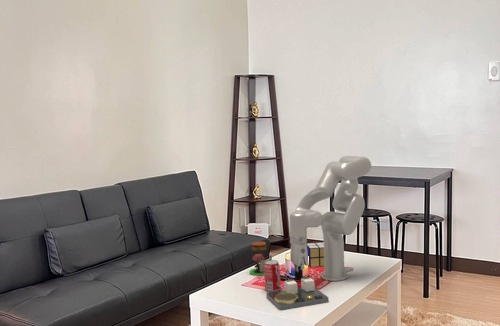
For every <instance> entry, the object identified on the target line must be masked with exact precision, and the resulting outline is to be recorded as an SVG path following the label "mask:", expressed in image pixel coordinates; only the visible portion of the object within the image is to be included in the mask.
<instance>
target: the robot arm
mask: <svg viewBox="0 0 500 326" xmlns="http://www.w3.org/2000/svg"><path fill="white" fill-rule="evenodd" d="M371 169H372V162H371V161H370V159H369V158H368V157H366V156H356V155H344V156H342V157H340V159H339V160H338V161H330V162H328V163H327V164H326V166H325V169H324V170H323V172H322V174H321V176H320V178H319V180H318V182H317V184H316V185H315V187H314V188H313V189H311V190H310V191H309V192H307V194H305V195H304V196H303V197H302V198H301V199H300V201H299V202H298V205H297V206H296V209H295V211H294V212H291V213H289V244H290V257H289V258H290V262H291V263H292V264H293V266H294V267H293V268H294V279H295V280H294V281H301V278H304V275H303V272H304V270H305V268H306V267H305V266H307V267H308V266H309V265H308V251H307V245H306V244H308V243H307V242H308V239H307V238H308V235H307V234H308V233H307V232H308V229H307V228H319V227H321V231H322V237H323V242H324V266H323V272H322V273H321V275H320V277H321V279H322V280H325V281H328V280H329V282H330V281H331V282H340V281H345V280H347V279H348V278H349V274H348V273H352V272H354V271H355V268H354V267H349V266H345V242H344V241H345V240H344V237H343V235H345V236H350V235H352V234H353V233H354V232H355V230H356V229H357V226H358V224H359V222H360V219H361V218H362V215H363V213H364V210H365V208H366V207H365V205H366V203H365V199H364V197H363V196H362V195H361V194H359V193H357V192H358V190H359V180H358V179H359V178H361V177H364V176H366V175H367V174H369V172H370V171H371ZM340 181H341V182H340ZM339 182H340V184H339ZM338 185H339V187H338V189H337V190H336V188H337V186H338ZM335 190H336V194H335V196H334V197H333V200H332V208H333V209H334V210H335V211H326V212H324V214H322V212H320V211H318V210H313V209H312V207H313V206H315V204H317V203H319V202H321V201H323V200H327V199H330V198H331V197H332V196H333V194H334V193H335Z"/></svg>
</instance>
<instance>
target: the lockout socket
mask: <svg viewBox="0 0 500 326" xmlns="http://www.w3.org/2000/svg"><path fill="white" fill-rule="evenodd" d="M283 296H291V297H295V299H293V300H289V301H283V300H279V299H277V298H279V297H283ZM297 299H298V296H297V295H296V294H293V293H281V294H278V295H276V296H275V301H276V302H277V303H281V304H291V303H295V302H297Z"/></svg>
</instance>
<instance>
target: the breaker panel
mask: <svg viewBox="0 0 500 326" xmlns="http://www.w3.org/2000/svg"><path fill="white" fill-rule="evenodd" d="M314 289H315V290H314V291H308V292H306V291H304V290H303V289H302V288H301V287H297V291H298V293H295V294H296V295H297V296H298V299H297V302H295V303H291V304H281V303H277V302H276V301H275V296H276V295H278V294H281V293H287V292H285V289H284V290H279V291H276V292H266V294H265V296H266V299H267V300H268V301H269V302H271V304H273V305H274V306H275V307H276V308H277V309H278V310H279V311H284V310H290V309H296V308H302V307H307V306H313V305H319V304H325V303H329V301H330V299H329V296H327V295H326V294H324V293H323V291H322V292H321V291H320V290H319V289H317V288H316V286H314ZM277 299H279V300H283V301H289V300H293V299H295V297H291V296H283V297H279V298H277Z"/></svg>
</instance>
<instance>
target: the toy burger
mask: <svg viewBox="0 0 500 326" xmlns="http://www.w3.org/2000/svg"><path fill="white" fill-rule="evenodd" d="M251 251H253V252H255V254H254V255H253V256H252V260H253V262H255V263H256V264H255V265H254V268H253V269H250V270H249V274H250V275H252V276H257V277H259V276H261V277H262V276H264V264H265V261H268V260H273V257H272V255H269V258H267V259H265V257H264V255H263V254H262V252H266V251H267V243H266V242H265V241H253V242H252V243H251ZM260 252H261V253H260Z"/></svg>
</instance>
